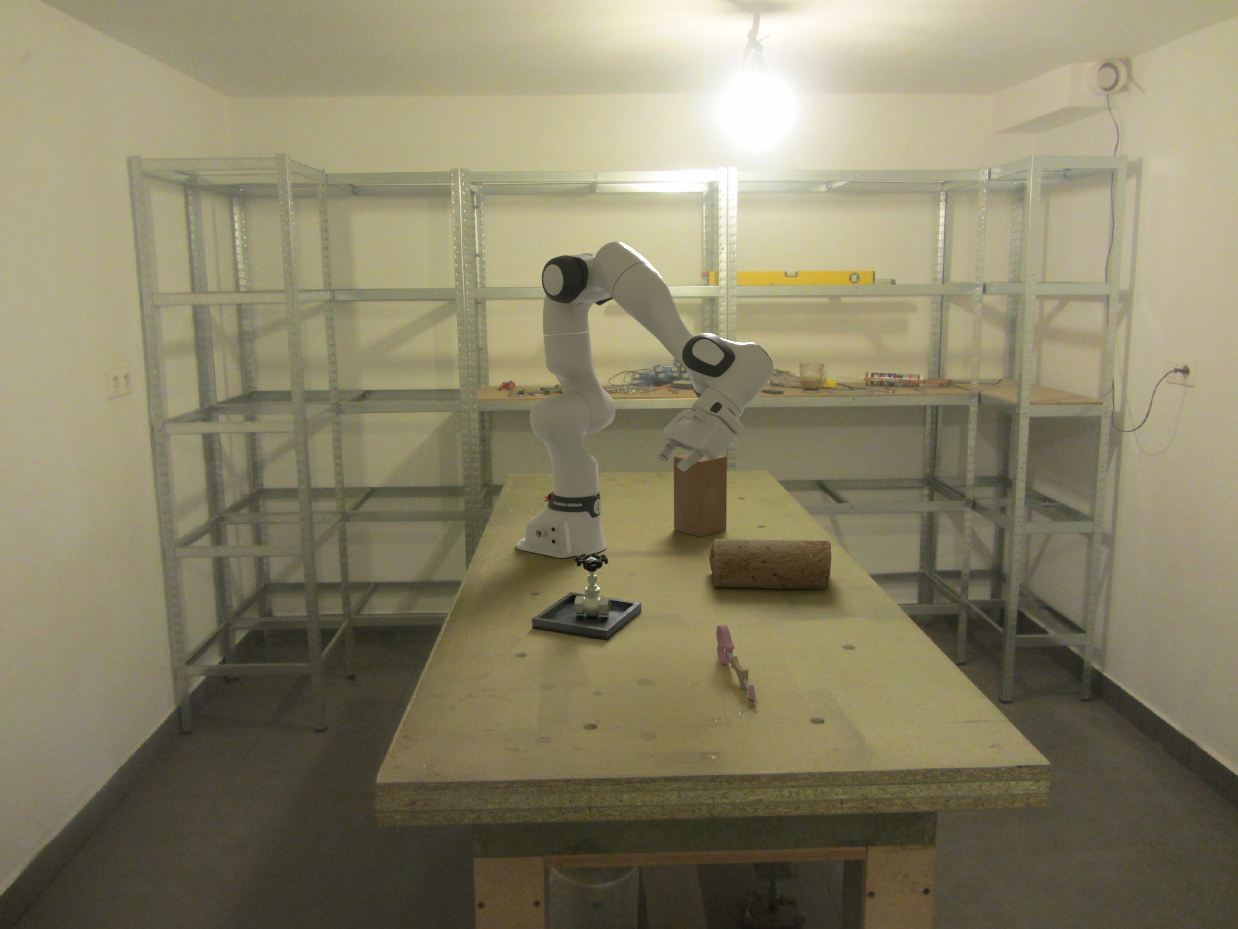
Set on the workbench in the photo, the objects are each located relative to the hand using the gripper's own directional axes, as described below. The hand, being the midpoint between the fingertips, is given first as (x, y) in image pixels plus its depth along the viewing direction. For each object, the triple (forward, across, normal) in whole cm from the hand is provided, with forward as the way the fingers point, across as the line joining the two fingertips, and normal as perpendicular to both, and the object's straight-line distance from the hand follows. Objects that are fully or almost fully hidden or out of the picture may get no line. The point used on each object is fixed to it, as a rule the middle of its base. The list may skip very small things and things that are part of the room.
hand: (670, 464), depth 181 cm
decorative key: (+24, +38, +17) cm, 48 cm away
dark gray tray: (+34, +2, +7) cm, 35 cm away
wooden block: (0, -46, +41) cm, 62 cm away
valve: (+33, +2, +8) cm, 34 cm away
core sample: (+3, -2, +38) cm, 39 cm away
